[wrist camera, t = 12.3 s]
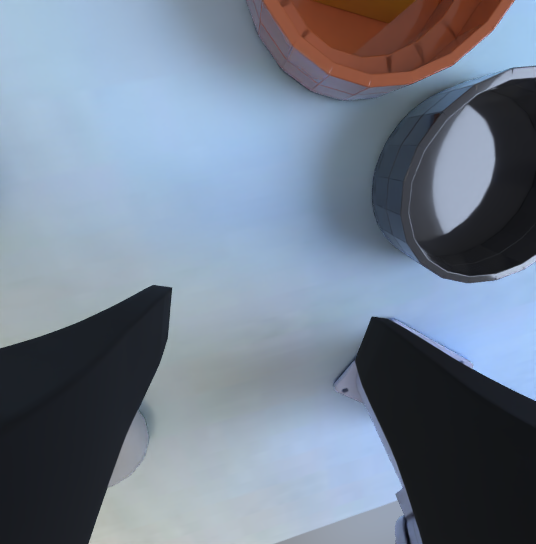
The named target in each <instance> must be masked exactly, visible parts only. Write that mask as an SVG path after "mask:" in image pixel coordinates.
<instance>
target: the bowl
mask: <svg viewBox="0 0 536 544" xmlns="http://www.w3.org/2000/svg"><path fill="white" fill-rule="evenodd" d="M514 1H515V0H416V1H415V2H413V3H412V4H411V5H410V6H409V7H408V8H406V9H405V10H404V11H403V12H402V13H401V14H399V15H398V16H397V17H396V18H395V19H394V20H393V21H391V22H390V23H386V22H383V21H379V20H376V19H372V18H369V17H366V16H362V15H359V14H356V13H352V12H349V11H346V10H342V9H339V8H336V7H332V6H329V5H326V4H322V3H319V2H315V1H312V0H246V2H247V4H248V7H249V10H250V13H251V16H252V19H253V22H254V25H255V28H256V31H257V34H258V35H259V37H260V39H261V40H262V42H263V43H264V44H265V46H266V47H267V49H268V50H269V52H270V53H271V55H272V56H273V57H274V59H275V60H276V62H277V63H278V65H279V66H280V68H282V69H283V71H285V72H286V73H287V74H289V75H290V76H291V77H293V78H294V79H295V80H297V81H298V82H299V83H301V84H302V85H303V86H304V87H306V88H307V89H308V90H311V92H315V93H318V94H322V95H325V96H328V97H332V98H335V99H338V100H356V99H369V98H377V97H379V96H382V95H384V94H387V93H390V92H392V91H395V90H398V89H400V88H403V87H405V86H408V85H411V84H413V83H415V82H418V81H420V80H422V79H424V78H426V77H429V76H431V75H433V74H435V73H437V72H440V71H442V70H444V69H446V68H449V67H451V66H452V65H454V64H455V63H456V62H458V61H459V60H460V59H461V58H462V57H463V56H465V55H466V54H467V53H468V52H469V51H470V50H472V49H473V48H474V47H475V46H476V45H477V44H478V43H480V42H481V41H482V40H483V39H484V38H485V37H487V36H488V35H489V34H490V33H491V32H492V31H493V30H494V29H495V27H496V26H497V25H498V23H499V22H500V20H501V19H502V18H503V16H504V15H505V13H506V12H507V11H508V9H509V8H510V6H511V5H512V4H513V2H514Z"/></svg>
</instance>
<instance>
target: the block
mask: <svg viewBox="0 0 536 544" xmlns="http://www.w3.org/2000/svg"><path fill="white" fill-rule="evenodd" d="M312 1H315V2H319V3H322V4H326V5H329V6H332V7H336V8H339V9H342V10H346V11H349V12H352V13H356V14H359V15H362V16H366V17H369V18H372V19H376V20H379V21H383V22H386V23H390V22H391V21H393V20H394V19H395V18H396V17H397V16H398V15H399V14H401V13H402V12H403V11H404V10H405V9H406V8H408V7H409V6H410V5H411V4H412V3H413V2H415V1H416V0H312Z"/></svg>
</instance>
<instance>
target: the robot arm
mask: <svg viewBox="0 0 536 544" xmlns="http://www.w3.org/2000/svg"><path fill="white" fill-rule="evenodd" d="M171 295H172V288H171V287H164V286H157V285H152V286H150V287H148V288H146V289H144V290H142V291H140V292H139V293H137V294H135V295H133V296H131V297H130V298H128V299H126V300H124V301H122V302H120V303H118V304H116V305H114V306H112V307H110V308H108V309H106V310H104V311H102V312H100V313H98V314H95V315H93V316H91V317H89V318H87V319H85V320H83V321H80V322H78V323H75V324H73V325H70V326H68V327H65V328H63V329H60V330H57V331H54V332H52V333H49V334H46V335H43V336H40V337H37V338H34V339H31V340H27V341H24V342H21V343H17V344H14V345H11V346H7V347H4V348H1V349H0V544H88V543H89V540H90V537H91V534H92V531H93V528H94V525H95V522H96V519H97V516H98V513H99V511H100V508H101V505H102V502H103V499H104V496H105V493H106V490H107V487H108V485H109V482H110V479H111V476H112V473H113V470H114V468H115V465H116V462H117V459H118V456H119V454H120V451H121V448H122V445H123V443H124V440H125V438H126V435H127V433H128V430H129V428H130V426H131V424H132V421H133V419H134V417H135V415H136V413H137V411H138V409H139V407H140V405H141V402H142V400H143V398H144V396H145V394H146V392H147V390H148V388H149V386H150V383H151V381H152V379H153V377H154V375H155V373H156V371H157V368H158V366H159V364H160V361H161V358H162V355H163V352H164V349H165V345H166V342H167V339H168V329H169V318H170V306H171ZM344 388H346V389H344ZM334 389H335V391H336V392H338V393H341V394H343V395H345V396H347V397H350V398H352V399H354V400H356V401H359V402H361V403H363V404H364V405H365V407H366V409H367V411H368V413H369V415H370V418H371V420H372V422H373V424H374V426H375V428H376V431H377V433H378V435H379V437H380V439H381V441H382V444H383V446H384V448H385V450H386V452H387V454H388V457H389V459H390V461H391V463H392V465H393V467H394V470H395V472H396V474H397V476H398V478H399V480H400V483H401V485H402V487H403V488H402V489H401V490H400V491H399V492H397V493H396V497H397V499H398V502H399V504H400V506H401V509H402V511H403V513H404V515H403V516H401V517H399V518H398V520H397V521H396V525H395V537H396V540H395V542H396V543H395V544H536V401H534V400H532V399H530V398H528V397H526V396H524V395H521V394H519V393H517V392H515V391H513V390H511V389H509V388H507V387H505V386H503V385H501V384H499V383H497V382H495V381H494V380H492V379H490V378H488V377H486V376H484V375H482V374H480V373H479V372H477V371H475V370H473V364H472V363H471V362H470V361H469V360H467V359H465V358H464V357H462V356H460V355H458V354H457V353H455V352H453V351H451V350H449V349H448V348H446V347H444V346H442V345H441V344H439V343H437V342H435V341H433V340H432V339H430V338H428V337H426V336H425V335H423V334H421V333H419V332H417V331H416V330H414V329H412V328H410V327H409V326H407V325H405V324H403V323H401V322H400V321H398V320H396V319H391V320H389V319H385V318H378V317H372V318H371V320H370V323H369V325H368V328H367V331H366V333H365V336H364V338H363V341H362V344H361V346H360V349H359V351H358V354H357V356H356V359H355V360H354V361H353V362H352V364H351V365H350V366H349V367H348V368H347V369H346V371H345V372H344V373H343V374H342V375H341V376H340V378H339V379H338V380H337V381H336V382H335V384H334Z"/></svg>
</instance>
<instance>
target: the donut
mask: <svg viewBox="0 0 536 544" xmlns="http://www.w3.org/2000/svg"><path fill="white" fill-rule="evenodd" d="M148 441H149V434H148V430H147V425H146V421H145V419H144V417H143V416H142V415H141V413H140V412H139V410H138V411H137V413H136V415H135V417H134V419H133V421H132V424H131V426H130V428H129V430H128V433H127V435H126V438H125V440H124V443H123V445H122V448H121V451H120V454H119V456H118V459H117V462H116V465H115V468H114V470H113V473H112V476H111V479H110V482H109V485H108V487H111V486H113V485H115V484H117V483H119V482H121V481H122V480H124V479H125V478H127V477H129V476H130V475H131V474H132V473H133V472H134V471H135V469H136V468H137V467H138V466H139V465H140V463H141V462H142V461H143V459H144V457H145V454H146V450H147V446H148Z"/></svg>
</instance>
